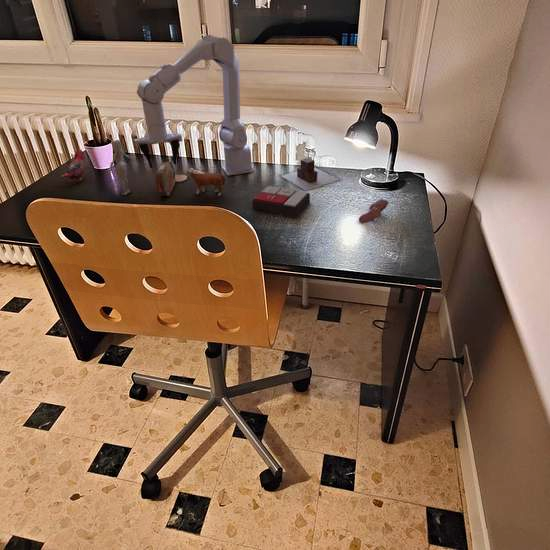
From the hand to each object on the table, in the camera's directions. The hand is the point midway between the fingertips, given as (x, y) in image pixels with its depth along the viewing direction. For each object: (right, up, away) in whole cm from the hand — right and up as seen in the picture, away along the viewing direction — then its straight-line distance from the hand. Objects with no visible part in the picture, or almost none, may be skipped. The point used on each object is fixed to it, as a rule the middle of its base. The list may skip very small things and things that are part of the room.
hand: (163, 165), depth 137 cm
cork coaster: (+2, -2, +13) cm, 13 cm away
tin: (0, -7, +5) cm, 9 cm away
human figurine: (-13, -9, +4) cm, 16 cm away
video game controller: (+66, -19, -12) cm, 70 cm away
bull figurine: (+14, -9, +3) cm, 17 cm away
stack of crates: (+49, -2, +12) cm, 51 cm away
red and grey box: (+39, -15, -5) cm, 42 cm away
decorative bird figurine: (-33, -4, +11) cm, 35 cm away
